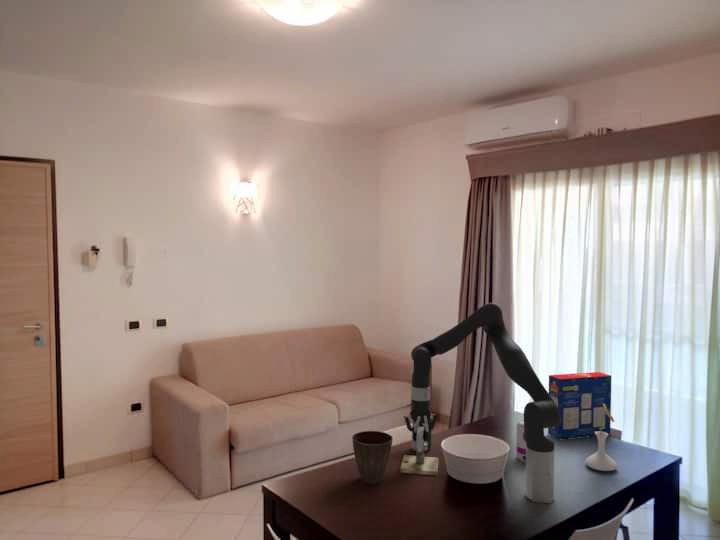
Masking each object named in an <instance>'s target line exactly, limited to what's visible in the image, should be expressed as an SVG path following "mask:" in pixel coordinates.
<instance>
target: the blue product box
mask: <svg viewBox="0 0 720 540" xmlns="http://www.w3.org/2000/svg"><path fill="white" fill-rule="evenodd" d="M548 393H549V395H550V396H551V397H552V399H553V400H554V402H555V403H556V405H557V407H558V409H559V411H560V415H561V421H560V423H559V425H557V426H555V427H551V428H547V435H548V434H550V435H551V436H550V435H549V436H550V437H552V436H553V437H552V438H554V437H555V438H554V439H556V438H557V439H559V440H558V441H561V440H560V439H566V440H570V439H569V438H576V439H578V438H577V437H586V438H588V437H587V436H595V437H597V436H596V434H595V432H597V431H601V429H600V428H601V427H602V425H601V422H600V421H601V420H602V418H603V416H604V414H605V412H606V411H605V409H604V407H603V403H604V404H605V405H606V407H607V410H609V412H610V415H611V410H612V375H610V374H607V373H604V372H599V371H594V372H581V373H579V372H577V373H564V374H549V375H548ZM611 416H612V415H611ZM611 422H612V421H611V419H610V418H609V416H608V415H605V416H604V418H603V420H602V424H603V426H604V427H605V428H604V429H602V432H606V433H608V434H609V435H608V436H611ZM557 439H556V440H557Z"/></svg>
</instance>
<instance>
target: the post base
mask: <svg viewBox="0 0 720 540" xmlns="http://www.w3.org/2000/svg"><path fill="white" fill-rule="evenodd" d="M439 459H440V458H439V457H435V456H434V457H431V456H425V452H418V451H415V455H407V454H404V455H403V458H402V461H401V465H400V469H399V471H400V473H401V474H402V473H403V474H404V473H405V474H416V475H427V476H438V471H439V461H440V460H439Z"/></svg>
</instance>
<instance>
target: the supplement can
mask: <svg viewBox="0 0 720 540" xmlns="http://www.w3.org/2000/svg"><path fill="white" fill-rule="evenodd" d="M516 424H517V425H516V451H515V452H516V455H515V457H516V458H517V459H518V460H519V461H521V462H524V461H526V439H525V436H524V419H523V420H518V422H517V423H516Z"/></svg>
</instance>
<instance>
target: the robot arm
mask: <svg viewBox="0 0 720 540" xmlns="http://www.w3.org/2000/svg"><path fill="white" fill-rule="evenodd" d="M480 328H481V329H482V330H483V331H484V333H485V334H486V335H487V337H488V338H489V340H490V342H491V343H492V345H493V348H494V350H495V352H496V356H498V360H499V362H500V364H501V366H502V368H503V369H504V372H505V373H506V375H507V376H508V377H509V378H510V380H511V381H512V382H514V384H516V385H517V386H519V387H520V388H521V389H523V390H524V391H525V392H526V393H527V394H528V395H529V396H530V397H531V400H532V401H530V402H528V403H526V405H525V407H524V409H523V420H524V436H525V439H526V462H525V497H526V498H527V499H529V500H530V501H531V502H533V503H541V504H552V502H553V501H554V499H555V495H554V493H555V491H554V490H555V446H556V445H555V441H554V440H553V439H552V437H548V436H545V429H548V428H551V427H555V426H557V425H559V423H560V421H561V415H560V411H559V409H558V407H557V405H556V403H555V402H554V400H553V399H552V397H551V396H550V395H549V391H547V389H546V387H545V386H544V384H543V383H542V382H541V380H540V378H539V377H538V375H537V373H536V371H535V370H534V368H533V367H532V364H531V363H530V361H529V359H528V357H527V355H526V353H525V352H524V351H523V349H522V348H521V347H520V346H519V344H518V343H517V342H515V340H513V338H512V337H511V335H510V334H509V331H508V329H507V327H506V324H505V322H504V315H503V310H502V308H501V306H499V305H498V304H497V303H494V302H488V303H485V304H483V305H482V306H480V307H479V308H477V309H476V310H475V311H474V312H472V313H471V314H470V315H469V316H468V317H466V318H464V319H463V320H462V321H461V322H459V323H458V324H456V325H455V326H453V327H451V328H450V329H448V330H447V331H445V332H443V333H441V334H439V335H437V336H435V337H434V338H433V339H430V340H428V341H425V342H422V343H420V344H418V345H417V346H415V347H414V348H413V349H412V350H411V353H410V357H411V360H412V361H413V371H412V374H411V375H412V376H411V389H410V412H409V414H407V415H403V420H404V423H405V425H406V429H407V430H409V432H411V434H412V435H411V438H412V441H413V440H414V441H415V442H416V436H417V428H418V425H419V424H420V423H422V424H423V427H424V435H423V439H424V441H427V439H428V432H429V430H431V431H433V429H434V427H435V424H436V422H437V420H438V415H436V413H432V412H431V388H430V387H431V386H430V385H431V379H430V378H431V377H430V376H431V368H432V367H431V366H432V358H434V357H436V356H437V355H438V356H439V355H440V356H441V355H444V354H446V353H448V352H450V351H451V350H453V349H455V348H456V347H458V346H459V345H461V344H462V343H463V342H464V341H465V340H466V339H467V337H470V336H469V335H471V334H473V333H474V332H475V331H476V330H478V329H480ZM429 417H430V418H431V420H430V422H429V425H428V422H427V420H428V419H429ZM411 419H412V424H411V422H410V421H411Z"/></svg>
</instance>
